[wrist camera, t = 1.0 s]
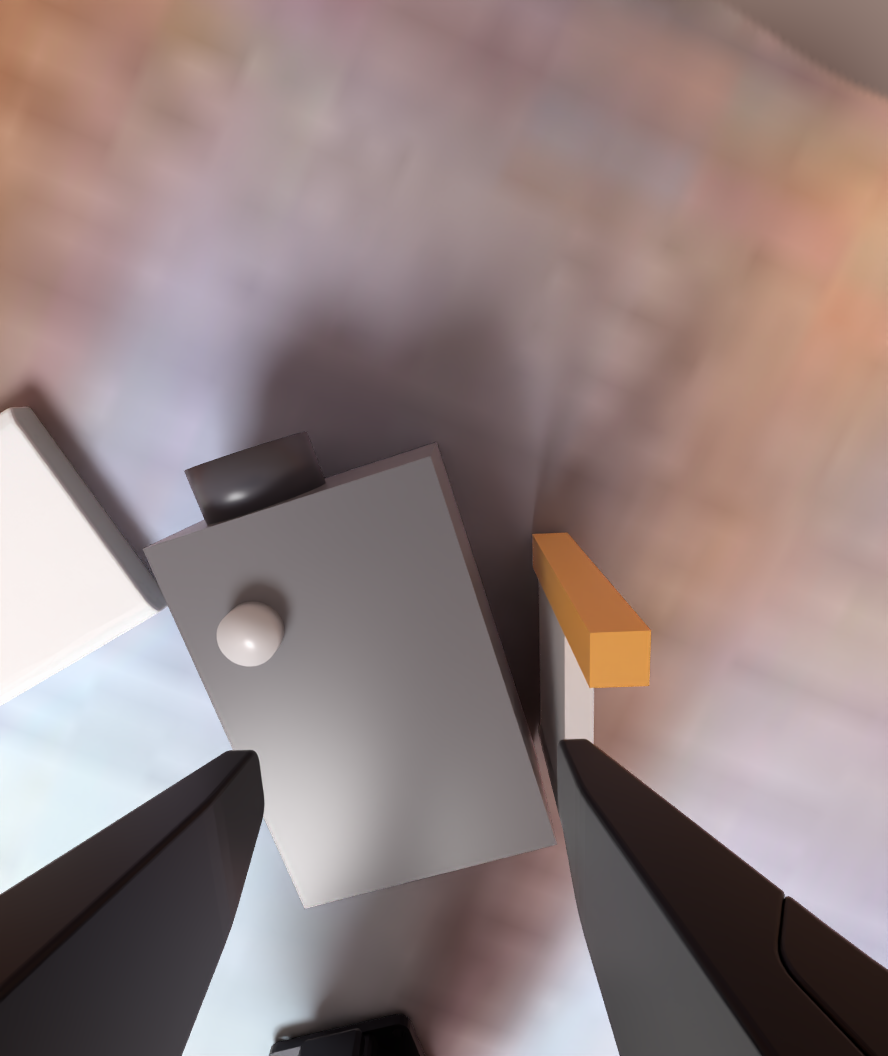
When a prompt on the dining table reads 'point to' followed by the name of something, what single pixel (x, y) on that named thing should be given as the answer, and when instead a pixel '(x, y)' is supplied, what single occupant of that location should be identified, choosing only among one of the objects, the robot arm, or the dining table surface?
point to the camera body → (355, 666)
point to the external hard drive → (58, 562)
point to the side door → (580, 642)
